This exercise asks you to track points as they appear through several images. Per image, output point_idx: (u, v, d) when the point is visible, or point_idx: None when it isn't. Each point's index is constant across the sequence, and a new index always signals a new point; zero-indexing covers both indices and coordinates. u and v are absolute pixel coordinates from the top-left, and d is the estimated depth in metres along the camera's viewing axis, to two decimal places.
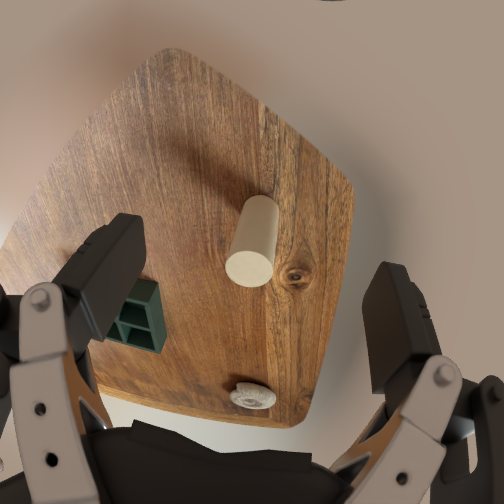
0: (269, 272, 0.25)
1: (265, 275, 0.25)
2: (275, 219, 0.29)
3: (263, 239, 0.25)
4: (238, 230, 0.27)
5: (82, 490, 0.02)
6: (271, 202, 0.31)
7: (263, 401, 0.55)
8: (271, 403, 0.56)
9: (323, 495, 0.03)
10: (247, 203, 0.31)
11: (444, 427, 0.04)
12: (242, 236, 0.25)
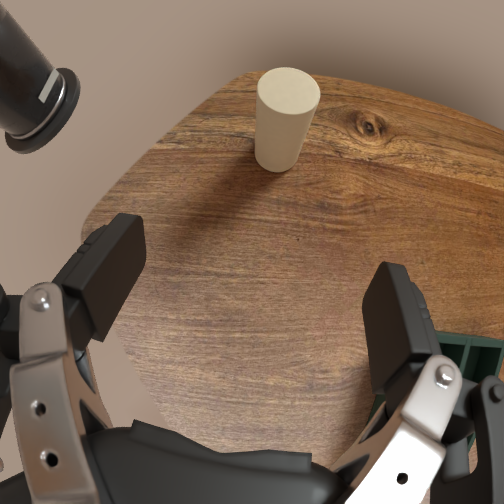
0: (291, 70, 0.16)
1: (296, 74, 0.16)
2: None
3: None
4: (262, 132, 0.20)
5: (82, 490, 0.02)
6: None
7: None
8: None
9: (323, 495, 0.03)
10: (259, 158, 0.25)
11: (444, 427, 0.04)
12: (258, 113, 0.18)
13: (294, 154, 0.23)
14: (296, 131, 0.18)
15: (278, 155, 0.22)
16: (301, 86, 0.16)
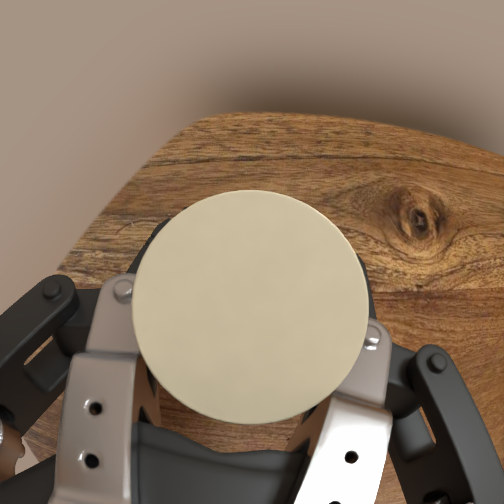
0: (262, 205, 0.05)
1: (284, 226, 0.05)
2: None
3: None
4: None
5: (114, 500, 0.02)
6: None
7: None
8: None
9: (275, 491, 0.03)
10: None
11: (362, 388, 0.05)
12: None
13: None
14: None
15: None
16: (300, 291, 0.05)
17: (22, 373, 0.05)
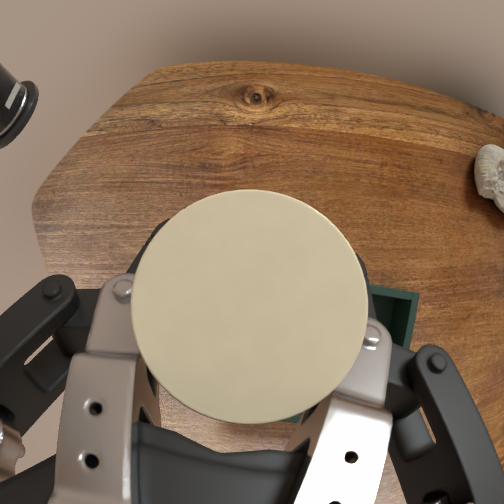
0: (261, 205, 0.05)
1: (283, 226, 0.05)
2: None
3: None
4: None
5: (114, 499, 0.03)
6: None
7: (495, 155, 0.27)
8: (499, 148, 0.28)
9: (275, 491, 0.03)
10: None
11: (362, 388, 0.05)
12: None
13: None
14: None
15: None
16: (299, 290, 0.05)
17: (22, 373, 0.05)
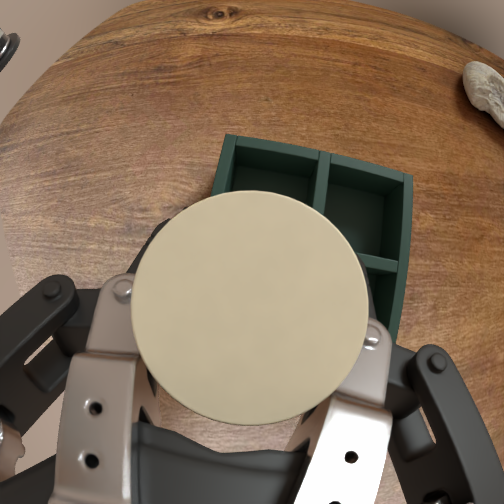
0: (262, 205, 0.05)
1: (283, 227, 0.05)
2: None
3: None
4: None
5: (114, 499, 0.03)
6: None
7: (484, 68, 0.21)
8: (488, 66, 0.22)
9: (275, 491, 0.03)
10: None
11: (361, 388, 0.05)
12: None
13: None
14: None
15: None
16: (300, 292, 0.05)
17: (22, 373, 0.05)
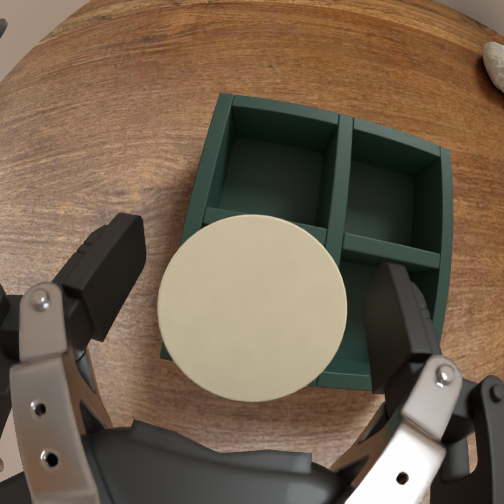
0: (262, 227, 0.06)
1: (279, 244, 0.06)
2: None
3: None
4: None
5: (82, 490, 0.02)
6: None
7: None
8: None
9: (323, 495, 0.03)
10: None
11: (444, 427, 0.04)
12: None
13: None
14: None
15: None
16: (291, 295, 0.06)
17: None
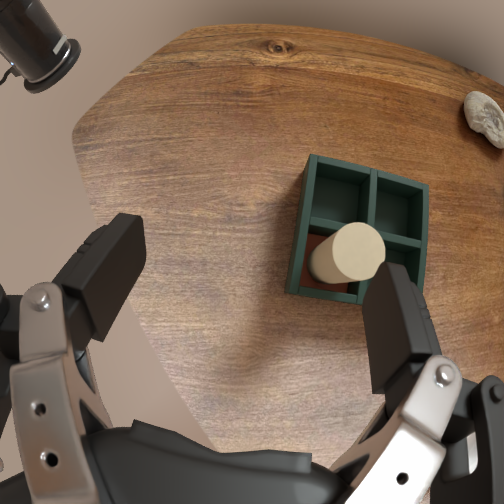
0: (361, 226, 0.19)
1: (366, 231, 0.19)
2: None
3: (328, 239, 0.21)
4: (326, 274, 0.23)
5: (82, 490, 0.02)
6: (312, 250, 0.28)
7: (481, 98, 0.30)
8: None
9: (323, 495, 0.03)
10: (313, 276, 0.28)
11: (444, 427, 0.04)
12: (326, 264, 0.21)
13: None
14: None
15: (334, 283, 0.25)
16: (370, 246, 0.19)
17: None
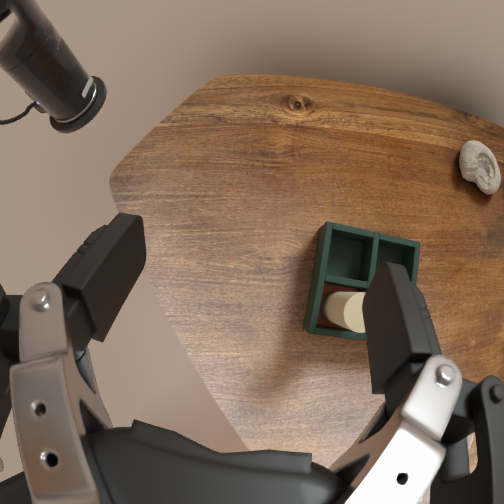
0: None
1: None
2: (336, 293, 0.34)
3: (340, 301, 0.29)
4: (337, 323, 0.30)
5: (83, 490, 0.02)
6: (325, 297, 0.36)
7: (476, 148, 0.37)
8: (480, 143, 0.38)
9: (323, 495, 0.03)
10: (325, 317, 0.35)
11: (444, 427, 0.04)
12: (338, 318, 0.29)
13: None
14: None
15: None
16: None
17: None
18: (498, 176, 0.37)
